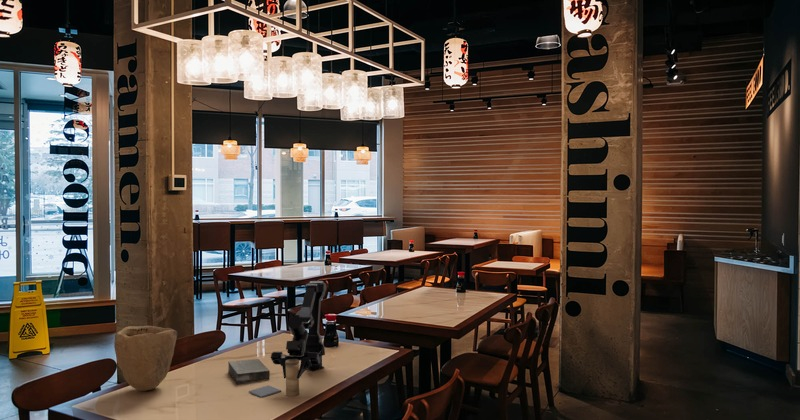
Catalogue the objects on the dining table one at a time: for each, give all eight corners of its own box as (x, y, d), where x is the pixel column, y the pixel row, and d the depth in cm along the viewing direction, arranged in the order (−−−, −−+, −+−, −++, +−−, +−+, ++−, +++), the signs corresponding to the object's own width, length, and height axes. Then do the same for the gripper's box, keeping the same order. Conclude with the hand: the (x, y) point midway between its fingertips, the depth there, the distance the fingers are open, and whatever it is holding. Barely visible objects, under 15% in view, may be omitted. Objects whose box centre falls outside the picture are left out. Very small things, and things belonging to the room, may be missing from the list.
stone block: (237, 385, 220) (237, 373, 220) (227, 372, 237) (227, 361, 237) (270, 380, 227) (270, 368, 227) (258, 368, 244) (258, 357, 244)
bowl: (189, 386, 218) (188, 325, 218) (137, 404, 199) (136, 337, 199) (156, 378, 230) (155, 320, 230) (104, 393, 212) (103, 330, 211)
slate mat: (268, 386, 217) (268, 385, 217) (281, 391, 211) (281, 390, 211) (248, 392, 210) (248, 391, 210) (261, 397, 204) (261, 396, 204)
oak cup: (294, 390, 212) (293, 357, 212) (302, 393, 208) (301, 360, 208) (283, 394, 208) (282, 360, 208) (290, 397, 205) (290, 363, 204)
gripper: (271, 331, 213) (262, 367, 202) (317, 331, 211) (310, 368, 200) (278, 346, 221) (269, 381, 210) (322, 346, 219) (316, 382, 208)
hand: (291, 378), depth 207 cm, fingers closed on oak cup, 5 cm apart
